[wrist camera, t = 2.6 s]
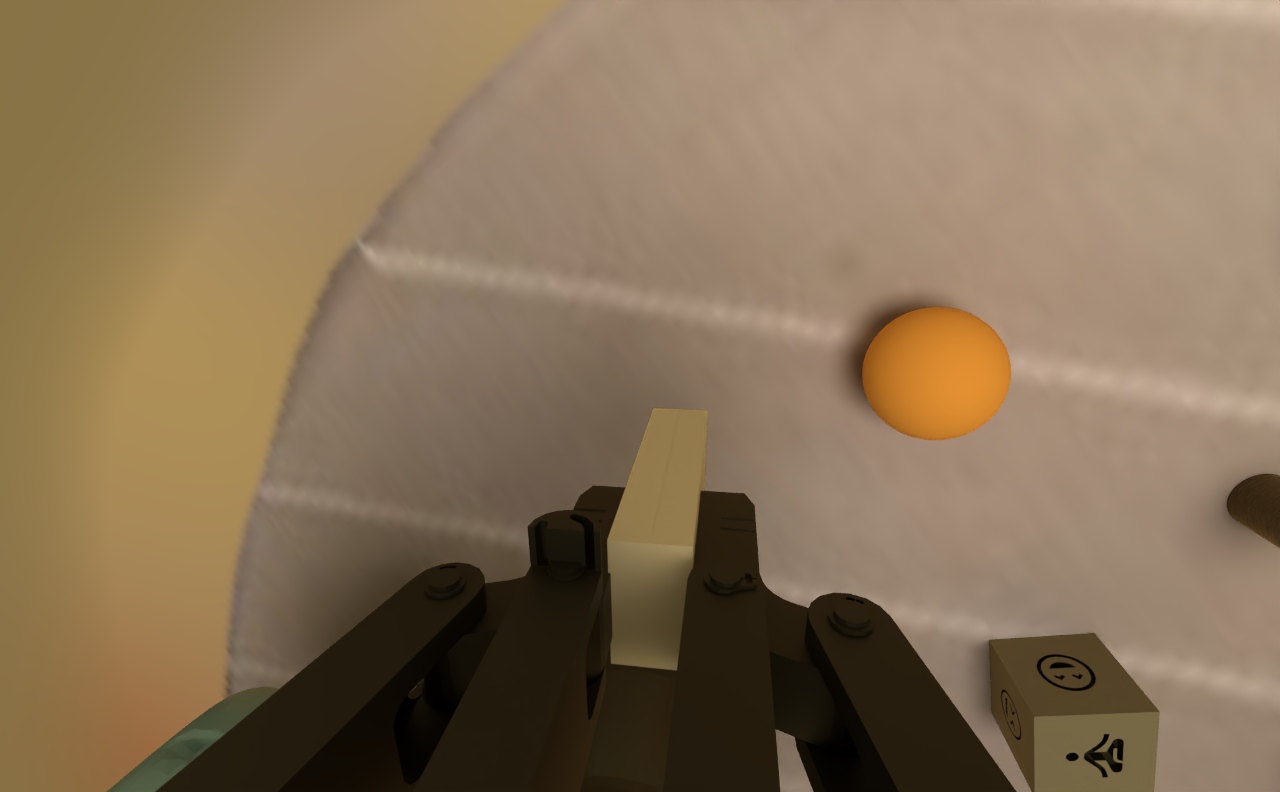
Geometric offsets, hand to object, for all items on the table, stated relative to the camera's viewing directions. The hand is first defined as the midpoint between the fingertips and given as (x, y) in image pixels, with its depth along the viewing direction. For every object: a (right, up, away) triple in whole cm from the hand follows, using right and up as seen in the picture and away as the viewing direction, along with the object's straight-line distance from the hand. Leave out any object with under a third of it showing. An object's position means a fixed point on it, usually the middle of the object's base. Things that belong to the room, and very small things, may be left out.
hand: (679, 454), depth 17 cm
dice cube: (+20, -13, +15) cm, 29 cm away
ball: (+11, +3, +8) cm, 14 cm away
